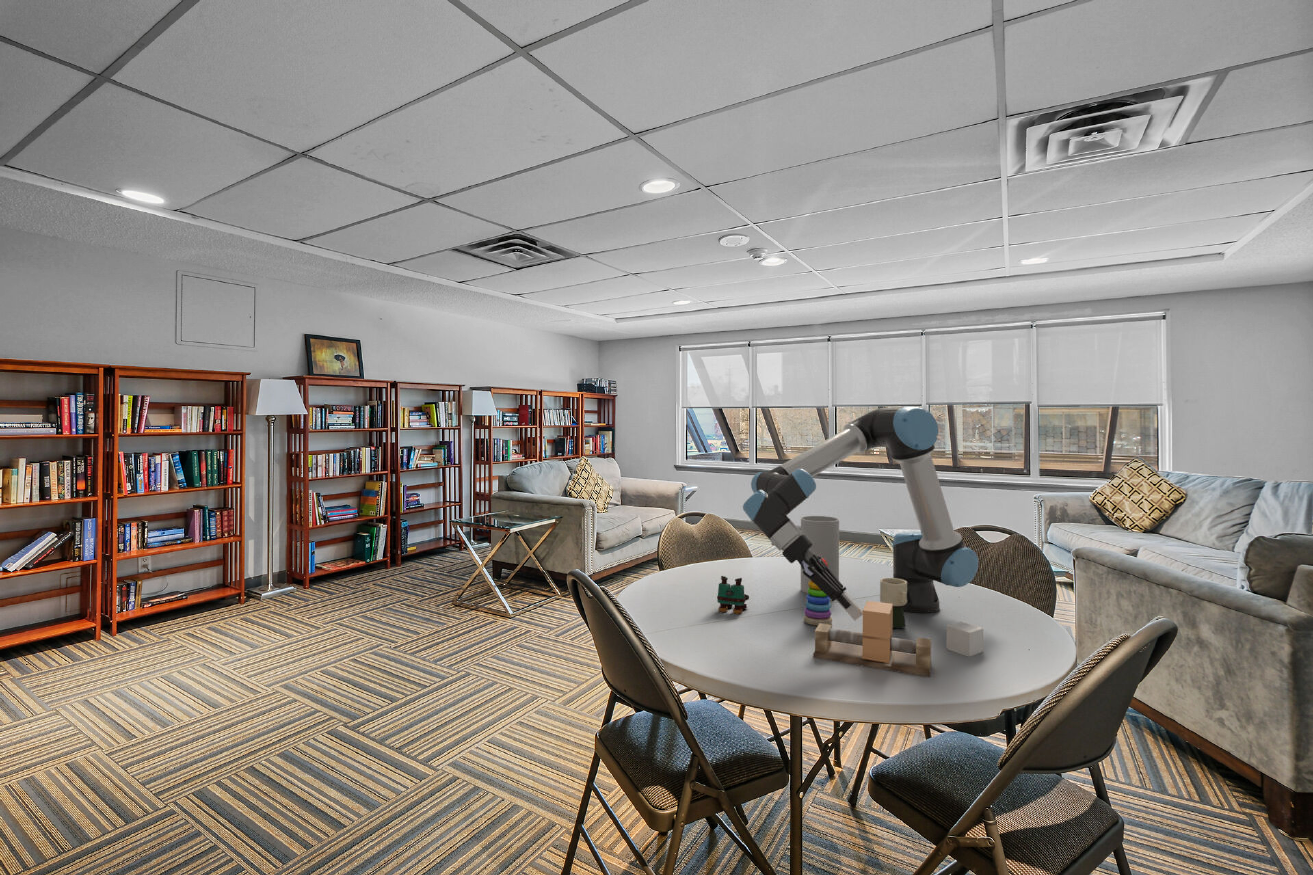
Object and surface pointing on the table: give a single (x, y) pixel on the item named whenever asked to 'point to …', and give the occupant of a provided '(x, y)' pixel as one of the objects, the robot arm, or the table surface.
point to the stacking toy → (817, 605)
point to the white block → (965, 638)
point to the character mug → (894, 598)
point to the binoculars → (731, 596)
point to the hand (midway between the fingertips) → (859, 616)
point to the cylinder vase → (821, 542)
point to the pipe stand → (853, 655)
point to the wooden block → (877, 631)
